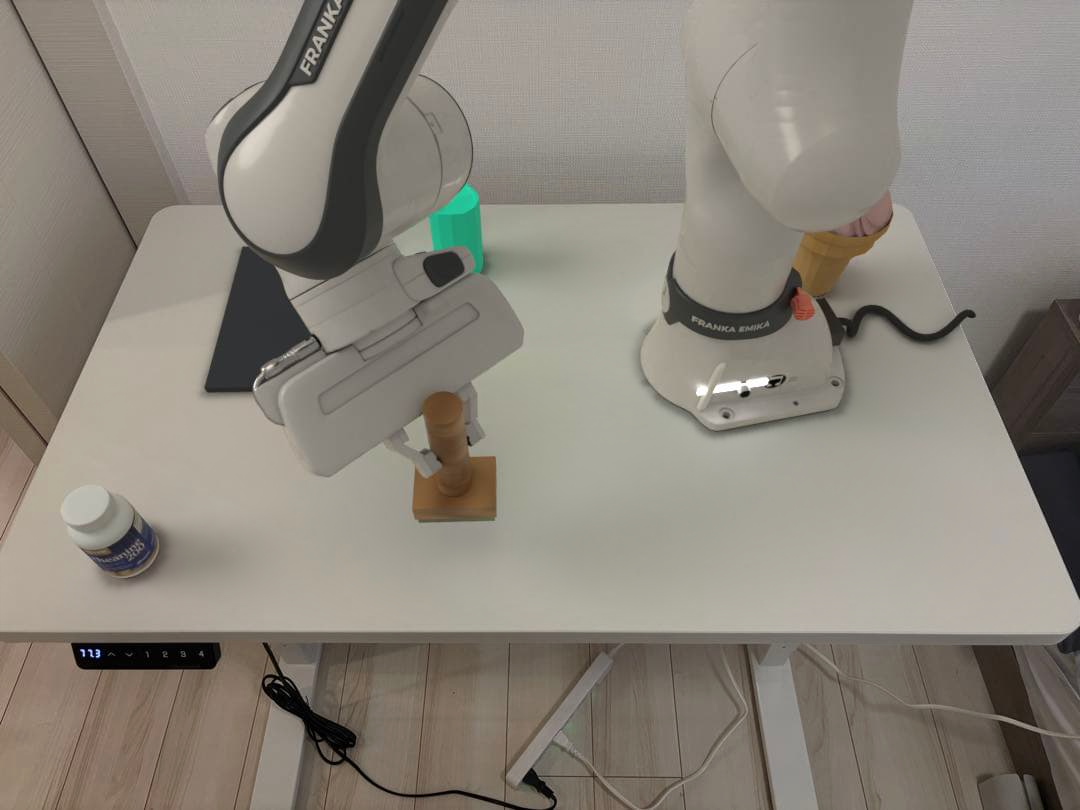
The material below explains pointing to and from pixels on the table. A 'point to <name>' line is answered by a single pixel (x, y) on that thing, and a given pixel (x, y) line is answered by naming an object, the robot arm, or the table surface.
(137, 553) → the pill bottle
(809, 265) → the ice cream cone
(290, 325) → the mat
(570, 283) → the table surface
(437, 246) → the candle
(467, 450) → the wooden stamp
